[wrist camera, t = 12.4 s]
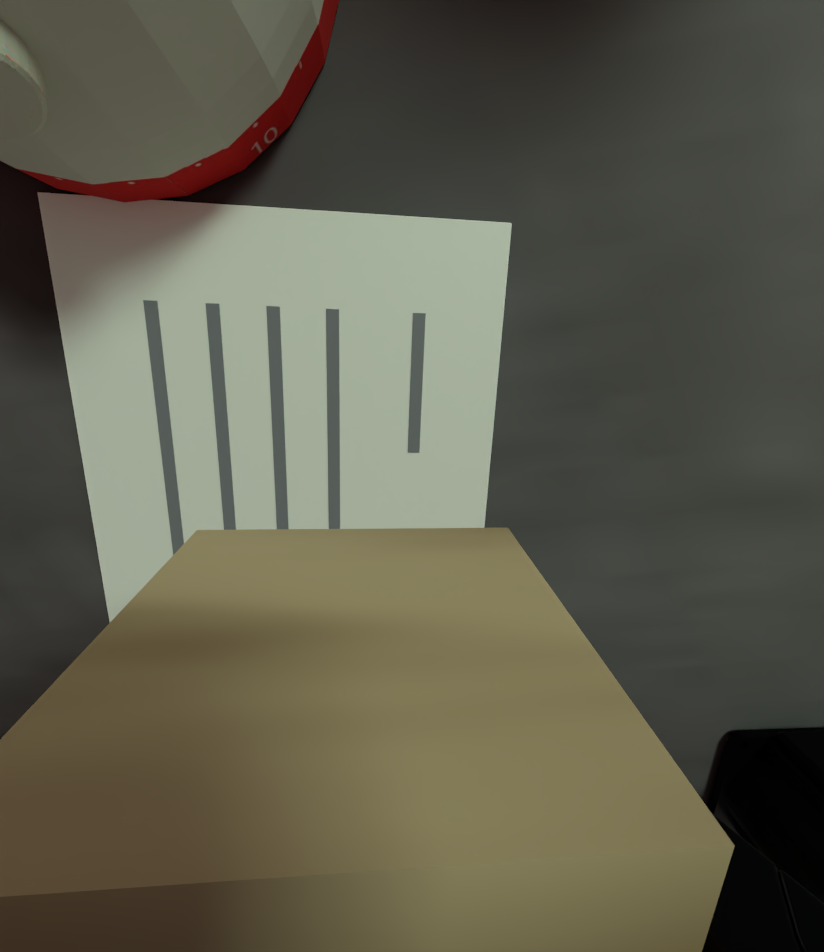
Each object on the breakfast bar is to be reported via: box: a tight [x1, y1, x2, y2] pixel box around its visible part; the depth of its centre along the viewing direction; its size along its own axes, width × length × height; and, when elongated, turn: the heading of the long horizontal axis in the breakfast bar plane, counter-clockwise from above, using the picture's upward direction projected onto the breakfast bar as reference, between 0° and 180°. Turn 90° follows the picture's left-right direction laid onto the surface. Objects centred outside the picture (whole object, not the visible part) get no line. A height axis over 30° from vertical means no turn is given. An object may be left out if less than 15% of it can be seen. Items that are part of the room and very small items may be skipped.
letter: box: [37, 192, 512, 622], centre depth 17 cm, size 19×15×1 cm
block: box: [0, 528, 735, 952], centre depth 6 cm, size 5×5×5 cm
